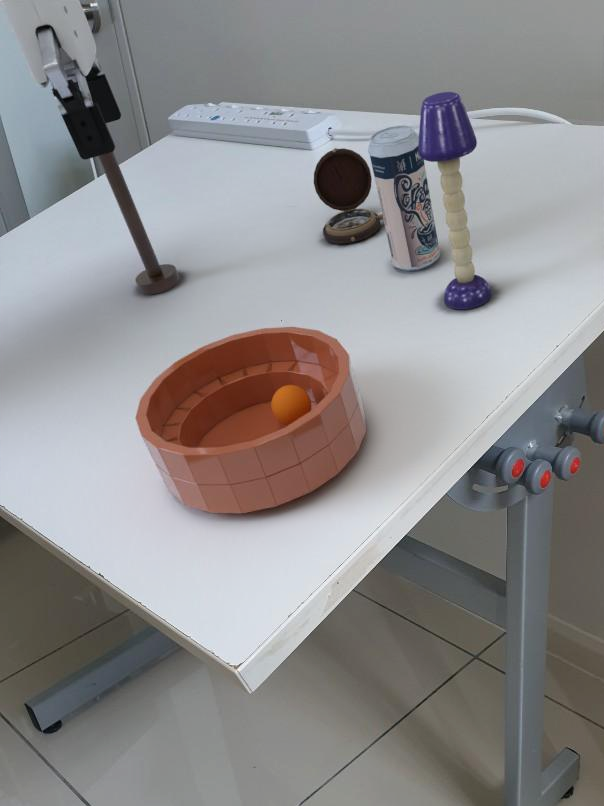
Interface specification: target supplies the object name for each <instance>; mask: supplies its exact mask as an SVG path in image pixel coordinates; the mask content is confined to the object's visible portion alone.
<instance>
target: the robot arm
mask: <svg viewBox="0 0 604 806" xmlns="http://www.w3.org/2000/svg"><path fill="white" fill-rule="evenodd" d="M0 4H1V7H2V10H3V12H4V15H5V17H6V19H7V22H8V24H9V26H10V29H11V31H12V33H13V36H14V38H15V41H16V43H17V46H18V48H19V50H20V52H21V55H22V57H23V59H24V62H25V64H26V67H27V69H28V71H29V73H30V75H31V78H32V80H33V83H34V84H35V85H36V86H37V87H39V88H41V89H46V88H48V86H49V83H50V85H51V91H52V95H53V97H54V99H55V101H56V105H57V108H58V110H59V112H60V116H61V118H62V120H63V122H64V125H65V126H66V128H67V132H68V133H69V135H70V137H71V140H72V142H73V144H74V147H75V148H76V151H77V153H78V155H79V157H80V158H81V159H82V160H85V161H86V160H89V159H93V158H97V157H98V156H100V155H103V154H107V153H110V152H113V153H114V151H115V149H116V145H115V141H114V140H113V137H112V135H111V132H110V130H109V128H108V125H107V124H108V123H112V122H115V121H119V120H120V119H121V117H122V113H121V109H120V108H119V106H118V105H119V104H118V102H117V100H116V98H115V95H114V93H113V91H112V87H111V86H110V85H111V84H110V83H109V81H108V78H107V76H106V74H105V73H103V68H102V66H101V63H100V62H99V60H98V58H97V45H96V42H95V41H96V40H95V38H94V35H93V32H92V29H91V26H90V24H89V22H88V21H89V20H88V19H87V16H86V14H85V11H84V9H83V7H82V3H81V2H80V0H0Z"/></svg>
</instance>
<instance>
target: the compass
mask: <svg viewBox="0 0 604 806" xmlns="http://www.w3.org/2000/svg"><path fill="white" fill-rule="evenodd" d="M372 179H373V178H372V173H371V169H370V166H369V165H368V163H367V160H365V159H364V157H362V155H361V154H359V153H358V152H356V151H354V150H353V149H348V148H337V147H335V148H333V149H331V150H330V151H327V152H326V153H325V154H323V156H321V157H320V159H319V160H318V162H317V163H316V165H315V169H314V172H313V186H314V190H315V193H316V195H317V196H318V198H319V200H320V201H321V202H322V203H323V204H324V205H325V206H327V207H329V208H330V209H333V210H336V211H340V212H337V213H336V214H335V215H334V216H331V218H330V219H328V221H327V223H326V224H325V225H324V226H323V228H322V234H323V237H324V238H325V240H326V241H328V242H330V243H332V244H341V245H342V244H351V243H356V242H359V241H363V240H365V239H367V238H369V237H371V236H372V235H374V234H375V233H376V232H377V231H378V230H379V229H380V227H381V225H382V224H381V221H384V219H383V214H382V213H380V214H378V213H376V212H374V211H372V210H369V209H367V208H359V207H360V206H361V205H362V204H363V203H364V202H365V201H366V200H367V198H368V197H369V195H370V192H371V189H372Z"/></svg>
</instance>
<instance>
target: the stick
mask: <svg viewBox="0 0 604 806" xmlns="http://www.w3.org/2000/svg"><path fill="white" fill-rule="evenodd" d="M97 158H98V160H99V162H100V165H101V167H102V169H103V172H104V174H105V177H106V180H107V181H108V184H109V186H110V188H111V191H112V194H113V196H114V198H115V201H116V203H117V205H118V207H119V211H120V213H121V215H122V217H123V219H124V222H125V224H126V226H127V229H128V231H129V233H130V236H131V238H132V241H133V243H134V245H135V248H136V250H137V252H138V255H139V257H140V259H141V262H142V264H143V267H144V270H143V271H141V272H140V273H139V274H138V275H136V277H135V283H136V286H137V288H138V291H139V293H140V294H142V295H145V296H153V295H159V294H162V293H165V292H167V291H169V290H171V289H173V288H174V287H175V286H177V285H178V283H179V282H180V278H181V277H180V275H179V272H178V269H177V267H176V266H175V265H173V264H171V263H163V264H162V263H161V264H160V263H159V260H158V258H157V255H156V253H155V251H154V248H153V245H152V243H151V241H150V238H149V236H148V233H147V231H146V228H145V226H144V223H143V221H142V218H141V216H140V214H139V212H138V208H137V206H136V203H135V201H134V199H133V197H132V194H131V192H130V190H129V187H128V184H127V181H126V180H125V176H124V175H123V172H122V169H121V167H120V165H119V163H118V160H117V157H116V155H115V152H114V151H113V152H110V153H107V154H103V155H100V156H97Z"/></svg>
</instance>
